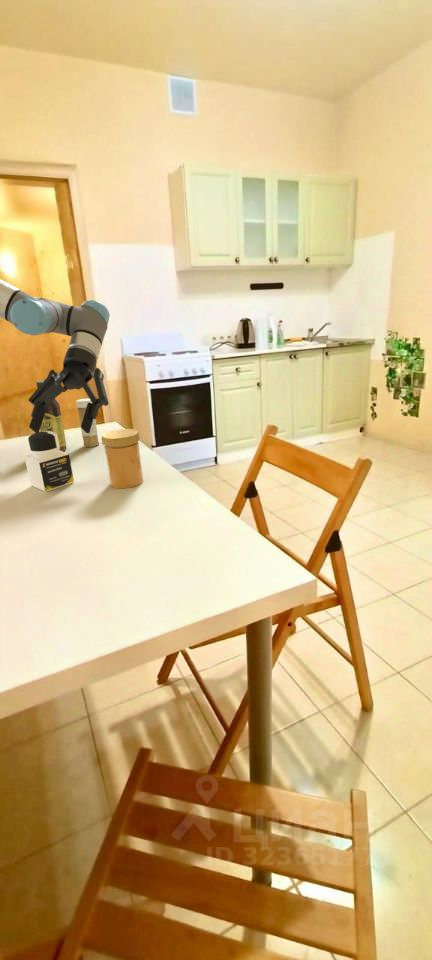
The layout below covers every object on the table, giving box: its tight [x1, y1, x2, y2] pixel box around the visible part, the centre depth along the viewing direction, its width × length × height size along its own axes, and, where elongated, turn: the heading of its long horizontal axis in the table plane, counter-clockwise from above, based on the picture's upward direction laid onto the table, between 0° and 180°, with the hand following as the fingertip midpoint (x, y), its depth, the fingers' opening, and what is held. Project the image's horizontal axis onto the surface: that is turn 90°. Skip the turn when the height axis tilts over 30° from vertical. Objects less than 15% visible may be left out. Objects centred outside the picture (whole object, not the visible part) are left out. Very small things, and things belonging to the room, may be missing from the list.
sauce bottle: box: [36, 379, 67, 452], centre depth 124 cm, size 7×6×20 cm
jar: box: [104, 441, 144, 489], centre depth 98 cm, size 7×7×10 cm
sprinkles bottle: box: [75, 398, 100, 448], centre depth 129 cm, size 5×5×13 cm
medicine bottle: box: [24, 431, 75, 493], centre depth 100 cm, size 7×7×12 cm
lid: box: [101, 428, 140, 447], centre depth 96 cm, size 8×8×2 cm
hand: (58, 430), depth 103 cm, fingers open, 13 cm apart
